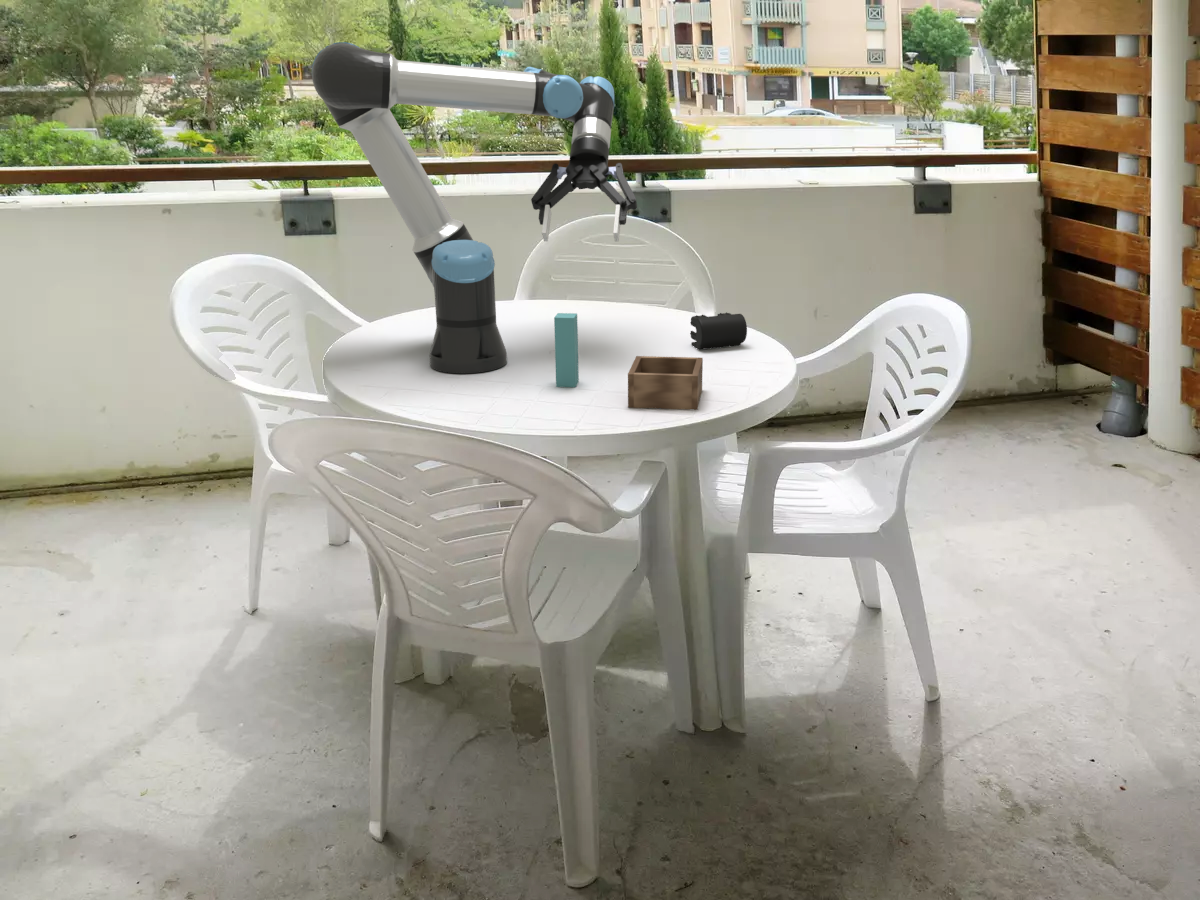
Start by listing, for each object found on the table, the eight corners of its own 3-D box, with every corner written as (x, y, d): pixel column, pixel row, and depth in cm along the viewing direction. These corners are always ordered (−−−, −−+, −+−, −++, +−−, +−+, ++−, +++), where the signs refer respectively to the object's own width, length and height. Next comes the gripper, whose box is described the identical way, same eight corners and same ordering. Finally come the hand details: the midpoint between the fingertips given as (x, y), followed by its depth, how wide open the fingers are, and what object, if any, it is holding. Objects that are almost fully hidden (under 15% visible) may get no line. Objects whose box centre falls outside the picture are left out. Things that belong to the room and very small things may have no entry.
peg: (556, 386, 215) (554, 317, 211) (559, 381, 219) (557, 313, 214) (575, 387, 215) (573, 318, 210) (578, 381, 218) (577, 313, 214)
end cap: (701, 353, 236) (702, 321, 234) (688, 345, 243) (688, 313, 240) (747, 349, 239) (747, 316, 237) (732, 341, 246) (733, 309, 243)
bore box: (628, 407, 203) (627, 374, 201) (636, 387, 214) (636, 356, 212) (697, 409, 201) (697, 376, 199) (702, 389, 212) (702, 357, 210)
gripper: (655, 159, 231) (647, 248, 222) (531, 160, 235) (519, 248, 226) (652, 133, 224) (644, 225, 215) (524, 135, 228) (511, 225, 219)
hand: (580, 237), depth 221 cm, fingers open, 13 cm apart
